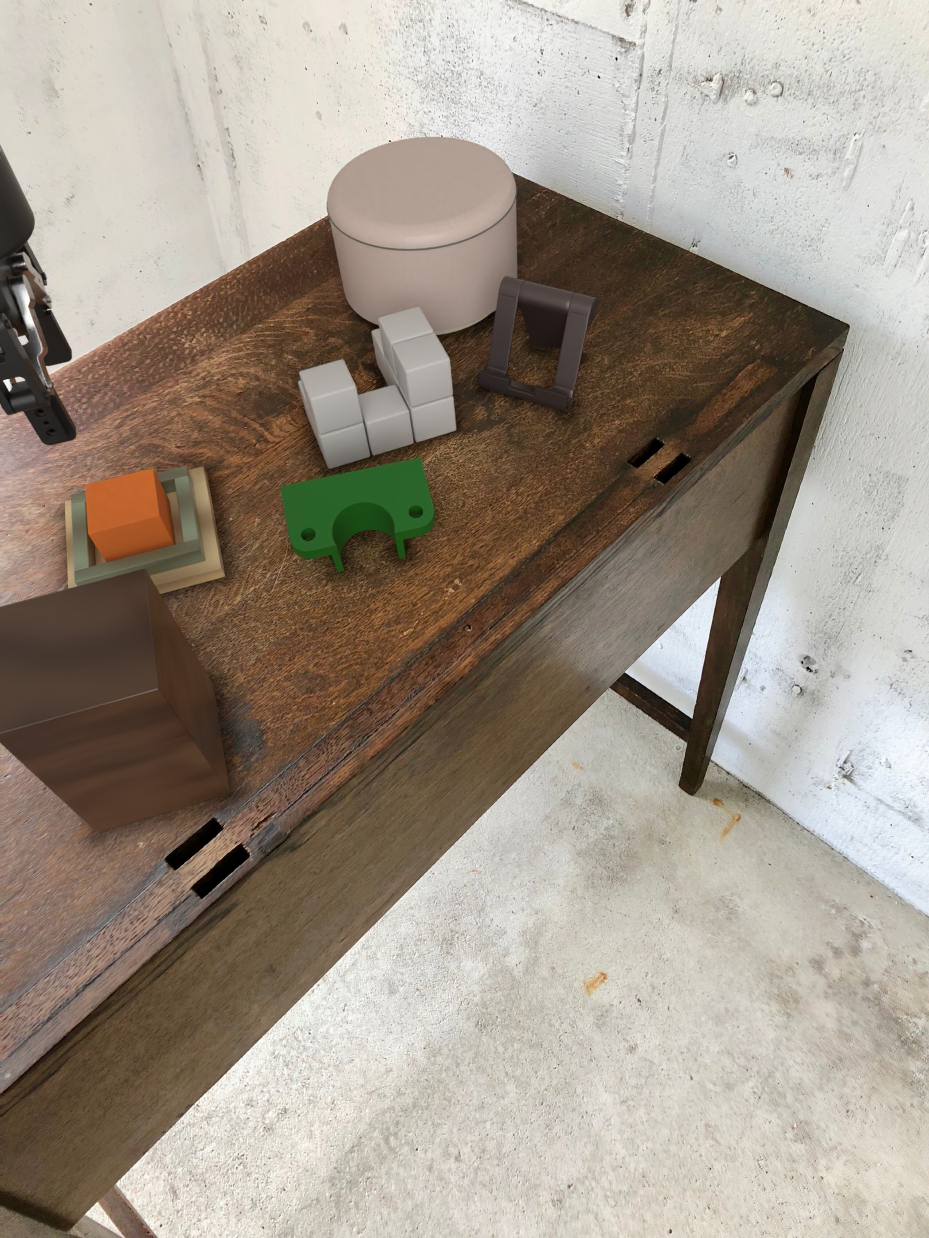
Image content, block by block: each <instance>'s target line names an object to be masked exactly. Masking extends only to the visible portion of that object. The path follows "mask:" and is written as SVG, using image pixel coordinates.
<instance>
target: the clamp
mask: <svg viewBox="0 0 929 1238" xmlns="http://www.w3.org/2000/svg"><path fill="white" fill-rule="evenodd" d="M279 488H280V494H281V500H282V507H283V511H284V516H285V522H286V528H287V533H288V538H289V542H290V545H291V547H292V549H293V551H294V553H295V554H296V555H297V556H298V557H300V558H302V559H305V560H314V559H318V558H324V557H329V556H331V557H332V560H333V563H334V566H335V569H336V572H337V573H341V572H344V571H345V568H344V565H343V561H342V558H341V557H342V550H343V548H344V547H345V544H346V543H347V542H348V541H349V540H350V539H351V538H352V537H353V536H354V535H356V534H359V533H361V532H364V531H365V532H366V531H378V532H382V533H384V534H386V535H388V537H390V538H391V539H392V540H393V541H394V542H395V544H396V551H397V555H398V556H397V557H398V559H399V560H402V559H406V557H407V556H406V549H405V546H404V545H405V544H404V540H408V539H412V538H418V537H422V536H425V535H426V534H428V533H430V532H431V531H432V530H433V528H434V526H435V522H436V518H435V517H436V516H435V508H434V504H433V500H432V496H431V492H430V488H429V485H428V480H427V476H426V472H425V468H424V464H423V460H422V457H416V458H410V459H406V460H402V461H401V460H400V461H397V462H391V463H387V464H382V465H378V466H371V467H367V468H362V469H358V470H354V471H348V472H342V473H339V474H333V475H329V476H324V477H319V478H314V479H310V480H306V481H305V480H304V481H300V482H295V483H290V484H285V485H281V486H279Z"/></svg>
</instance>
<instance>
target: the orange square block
mask: <svg viewBox="0 0 929 1238" xmlns="http://www.w3.org/2000/svg"><path fill="white" fill-rule="evenodd" d="M156 473H157V472H156V471H155V469H154V468H153V467H151V468H147V469H143V470H138V471H136V472H131V473H128V474H124V475H118V476H116V477H112V478H108V479H103V480H100V481H96V482H91V483H88V484H85V485H84V489H85V490H84V491H85V492H86V507H87V523H88V534H89V536H90V538H91V539H92V541H93V542H94V544H95V545H96V547H97V549H98V550H99V552H100V553H101V555H102V556H103V558H104V560H105V561H106V563H107V562H110V561H114V560H118V559H122V558H126V557H129V556H133V555H137V554H141V553H145V552H148V551H152V550H156V549H160V548H164V547H168V546H171V545H175V544H176V542H175V535H174V528H173V521H172V514H171V507H170V501H169V499H168V497H167V495H166V493H165V491H164V489H163V487H162V485H161V483H160V481H159V479H158V477H157V475H156Z"/></svg>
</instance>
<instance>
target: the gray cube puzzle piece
mask: <svg viewBox="0 0 929 1238" xmlns="http://www.w3.org/2000/svg"><path fill="white" fill-rule="evenodd" d="M378 323H379V325H378V327H379V328H376V329H373V330H371V337H372V338H371V339H372V343H373V349H374V355H375V360H376V364H377V367H378V368H379V371H380V373H381V375H382V377H383V379H384V380H385V383H386V385H387V386H384V387H380V388H377V389H374V390H370V391H367V392H363V393H360V394H359V393H358V389H357V385H356V382H355V380H354V379H353V377H352V375H351V372H350V371H349V368H348V365H347V364H346V361H345V359H343V358H342V359H338V360H334V361H331V362H328V363H323V364H319V365H317V366H313V367H309V368H306V369H303V370H300V371H299V372H298V375H299V379H300V380H298V382H297V385H298V388H299V392H300V396H301V400H302V403H303V406H304V411H305V414H306V416H307V419H308V422H309V424H310V426H311V429H312V432H313V434H314V437H315V438H316V439H315V440H316V442H317V444H318V446H319V449H320V452H321V454H322V457H323V460H324V461H325V464H326V467H327V469H328V470H330V469H334V468H337V467H342V466H345V465H348V464H351V463H355V462H358V461H361V460H364V459H368V458H370V457H371V455H372V456H377V455H380V454H383V453H387V452H391V451H393V450H397V449H400V448H403V447H407V446H410V445H413V444H414V442H416V443H420V442H423V441H426V440H430V439H432V438H436V437H439V436H443V435H446V434H450V433H452V432H455V431H457V421H456V420H457V419H456V411H455V400H454V396H453V395H454V388H453V379H452V367H451V359H450V357H449V355H448V353H447V352H446V350H445V348H444V346H443V345H442V343H441V341H440V339H439V338H438V335H436V334H435V333H434V331H433V329H432V327H431V326H430V324H429V322H428V320H427V319H426V317H425V315H424V313H423V312H422V310H421V308H420V307H415V308H411V309H408V310H404V311H401V312H397V313H393V314H390V315H386V316H383V317H379V318H378Z"/></svg>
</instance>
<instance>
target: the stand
mask: <svg viewBox="0 0 929 1238" xmlns="http://www.w3.org/2000/svg"><path fill="white" fill-rule="evenodd" d="M169 608H170V607H168V605H167V603H166V602H165V600H164V598H163V597H162V594H160V593H159V591H158V589H157V588H156V586H155V584H154V583H153V581H152V579H151V577H150V576H149V574H148V572H147V571H146V569H140V570H136V571H133V572H129V573H125V574H121V575H118V576H114V577H110V578H106V579H103V580H99V581H95V582H91V583H87V584H84V585H80V586H76V587H72V588H69V589H68V588H66V589H62V590H58V591H54V592H51V593H47V594H43V595H39V596H34V597H32V598H31V597H30V598H27V599H24V600H20V601H16V602H13V603H9V604H4V605H1V606H0V745H1V746H3V747H4V748H5V749H6V751H8V752H9V753H10V754H11V755H12V756H13V757H15V758H16V759H17V760H18V761H19V762H20V763H21V765H23V766H24V767H25V768H26V769H27V770H29V771H30V772H31V773H32V774H33V775H34V776H35V777H36V778H37V779H38V780H40V781H41V782H42V783H43V784H44V785H45V786H46V787H47V788H48V789H50V791H51V792H52V793H54V794H55V795H56V796H57V797H58V798H59V799H60V800H61V801H62V802H63V803H64V804H65V805H66V806H68V807H69V808H70V809H71V810H72V811H73V812H74V813H75V814H76V815H77V816H78V817H80V819H82V820H83V821H84V822H85V823H86V824H87V825H88V826H89V827H90V828H91V829H92V830H94V832H96V833H97V834H101V833H103V832H107V831H109V830H114V829H116V828H120V827H123V826H126V825H130V824H134V823H136V822H140V821H143V820H147V819H149V818H150V819H151V818H153V817H156V816H160V815H163V814H166V813H170V812H173V811H177V810H180V809H183V808H187V807H191V806H193V805H197V804H201V803H203V802H207V801H210V800H214V799H217V798H220V797H224V796H227V795H230V793H231V789H230V783H229V776H228V769H227V763H226V756H225V750H224V749H225V748H224V743H223V736H222V730H221V724H220V717H219V711H218V703H217V698H216V692H215V691H216V690H215V686H214V684H213V682H212V680H211V678H210V677H209V675H208V674H207V671H206V670H205V669H204V666H203V665H202V663H201V662H200V660H199V658H198V657H197V654H196V653H195V651H194V649H193V648H192V646H191V645H190V643H189V641H188V639H187V637H186V636H185V634H184V632H183V630H182V629H181V627H180V626H179V624H178V622H177V620H176V618H175V617H174V615H173V613H172V612H171V610H170V609H169Z"/></svg>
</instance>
